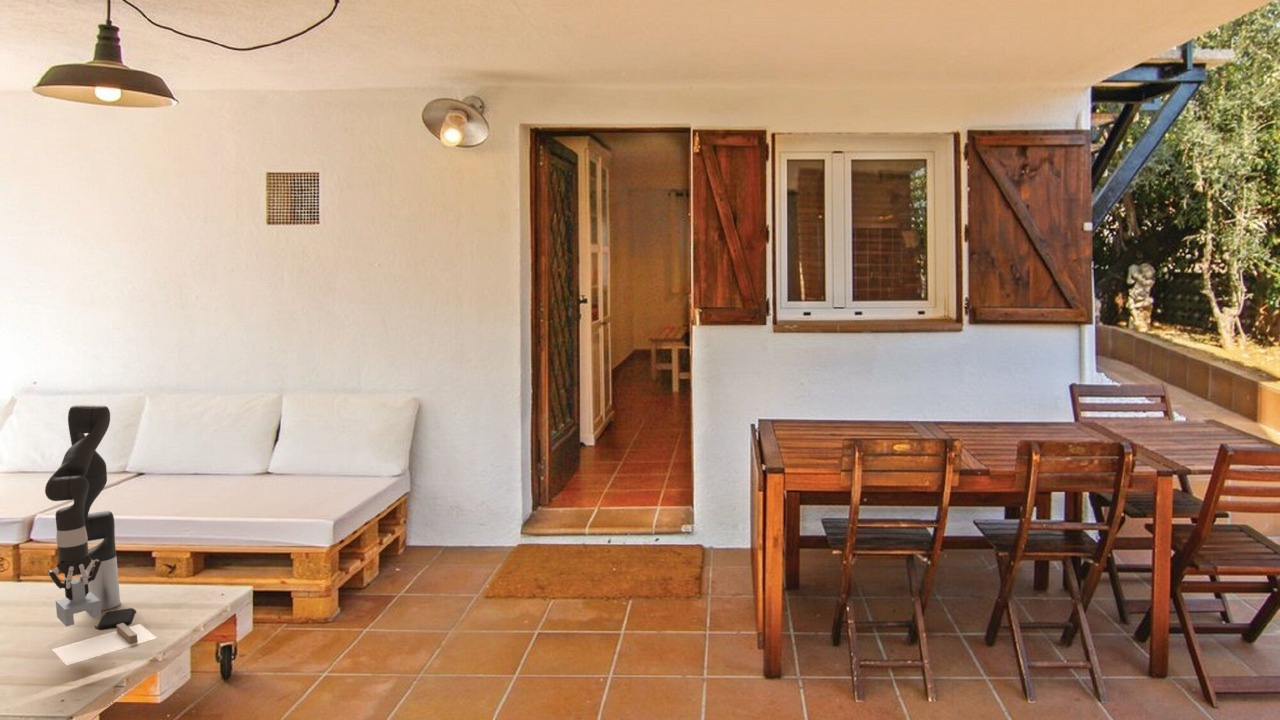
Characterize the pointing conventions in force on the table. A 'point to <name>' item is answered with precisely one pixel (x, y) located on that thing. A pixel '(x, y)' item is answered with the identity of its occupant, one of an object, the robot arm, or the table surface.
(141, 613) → the table surface
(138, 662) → the table surface
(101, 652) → the board
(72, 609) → the block
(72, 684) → the table surface
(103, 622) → the carrying case or bag
